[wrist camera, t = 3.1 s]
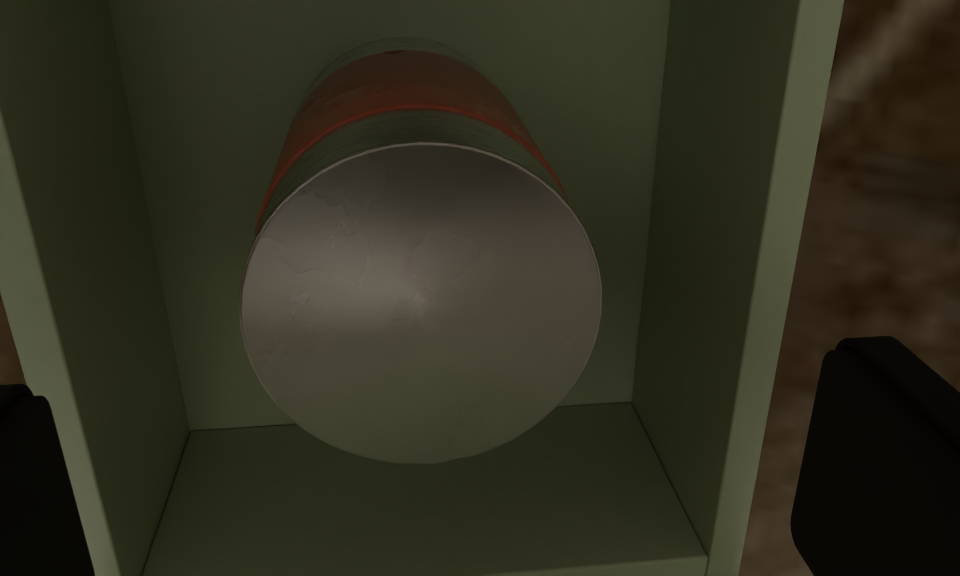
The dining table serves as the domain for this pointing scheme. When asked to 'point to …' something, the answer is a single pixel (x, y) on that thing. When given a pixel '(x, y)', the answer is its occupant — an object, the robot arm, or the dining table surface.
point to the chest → (230, 232)
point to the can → (416, 263)
